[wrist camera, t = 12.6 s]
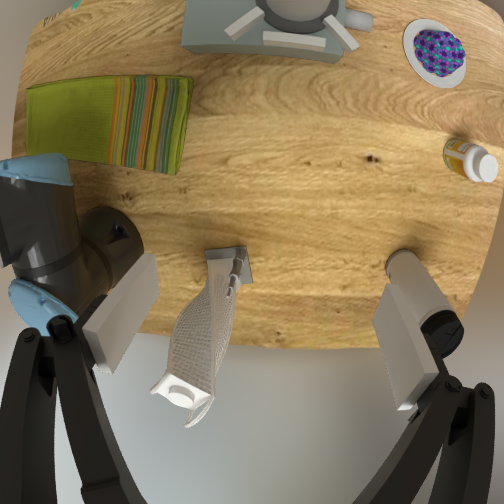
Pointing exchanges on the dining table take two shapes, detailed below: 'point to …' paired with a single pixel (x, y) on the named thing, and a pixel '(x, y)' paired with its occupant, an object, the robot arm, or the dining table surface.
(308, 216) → the dining table surface
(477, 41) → the dining table surface
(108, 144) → the dish towel
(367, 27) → the gearbox
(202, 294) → the skyscraper
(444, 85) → the pudding
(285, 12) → the can
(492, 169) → the supplement bottle
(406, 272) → the travel mug
